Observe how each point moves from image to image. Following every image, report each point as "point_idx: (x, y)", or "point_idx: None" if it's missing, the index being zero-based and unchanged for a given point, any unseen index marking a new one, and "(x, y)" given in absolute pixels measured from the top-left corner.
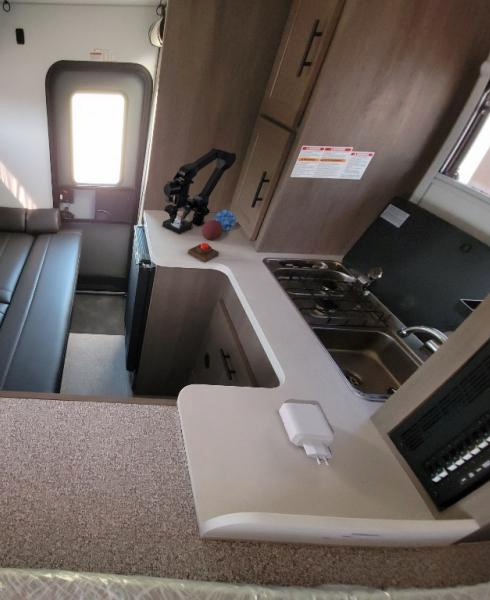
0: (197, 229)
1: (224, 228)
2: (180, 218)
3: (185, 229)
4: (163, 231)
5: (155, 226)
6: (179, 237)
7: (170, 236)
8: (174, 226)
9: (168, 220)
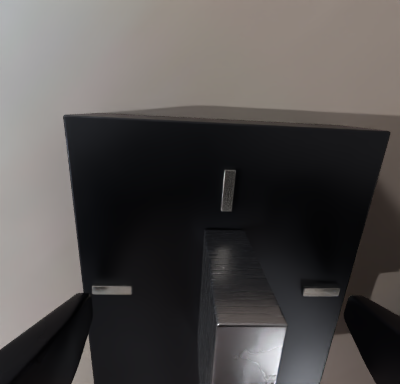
0: (327, 365)
1: None
2: None
3: None
4: (16, 216)
5: (9, 47)
6: (76, 372)
7: (11, 323)
8: (90, 334)
9: (170, 159)
